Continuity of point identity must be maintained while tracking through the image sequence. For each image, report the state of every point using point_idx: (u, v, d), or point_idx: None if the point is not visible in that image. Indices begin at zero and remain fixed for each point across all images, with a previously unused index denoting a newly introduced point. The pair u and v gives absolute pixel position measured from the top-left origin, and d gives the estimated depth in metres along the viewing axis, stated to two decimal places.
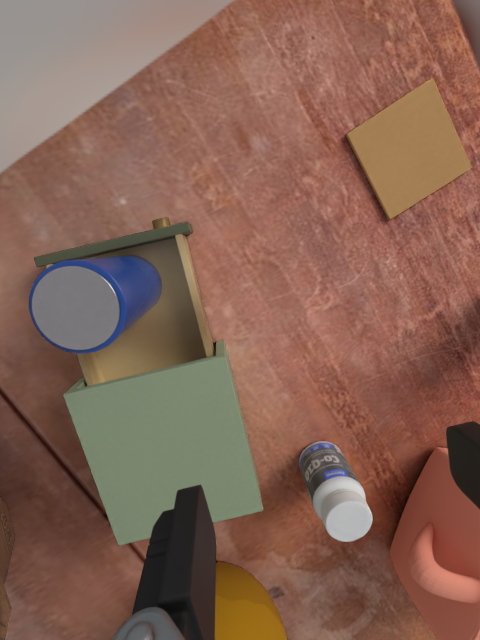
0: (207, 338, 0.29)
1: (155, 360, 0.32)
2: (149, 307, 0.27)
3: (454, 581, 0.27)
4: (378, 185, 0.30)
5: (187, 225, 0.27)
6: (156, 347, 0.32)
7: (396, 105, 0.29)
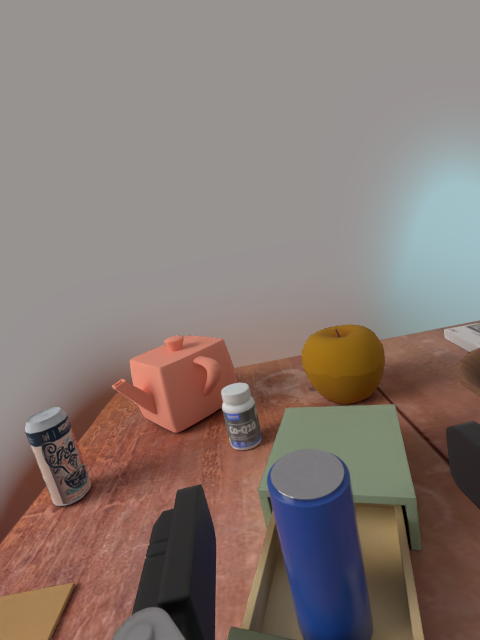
0: (271, 519, 0.31)
1: None
2: None
3: (202, 361, 0.54)
4: (53, 619, 0.29)
5: (229, 634, 0.22)
6: None
7: None
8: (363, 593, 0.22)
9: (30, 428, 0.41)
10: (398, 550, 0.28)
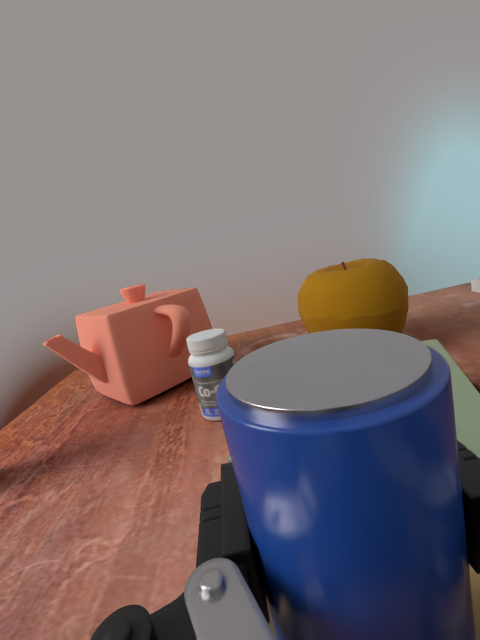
0: None
1: None
2: None
3: (166, 308, 0.40)
4: None
5: None
6: None
7: None
8: None
9: None
10: None
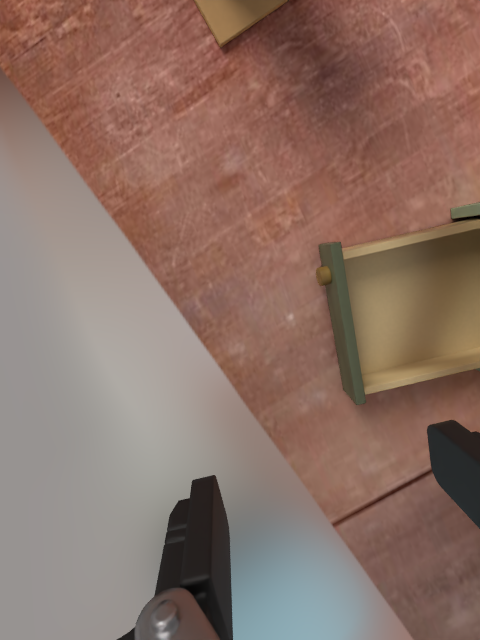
0: (464, 224, 0.24)
1: (467, 290, 0.28)
2: None
3: None
4: None
5: (334, 244, 0.24)
6: (453, 288, 0.28)
7: None
8: None
9: None
10: (458, 350, 0.29)
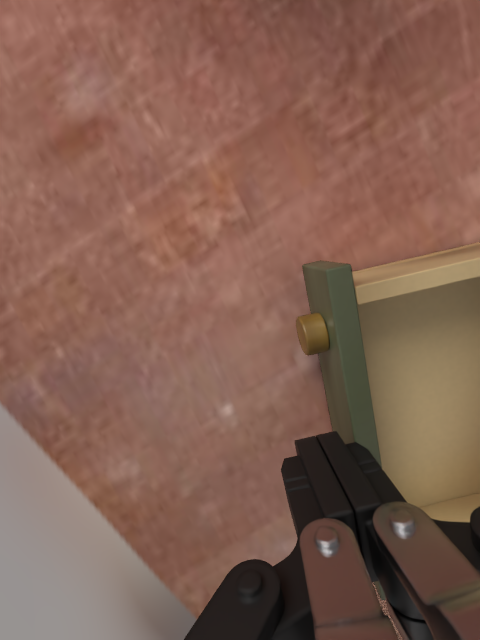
0: None
1: None
2: None
3: None
4: None
5: (335, 270, 0.10)
6: None
7: None
8: None
9: None
10: None
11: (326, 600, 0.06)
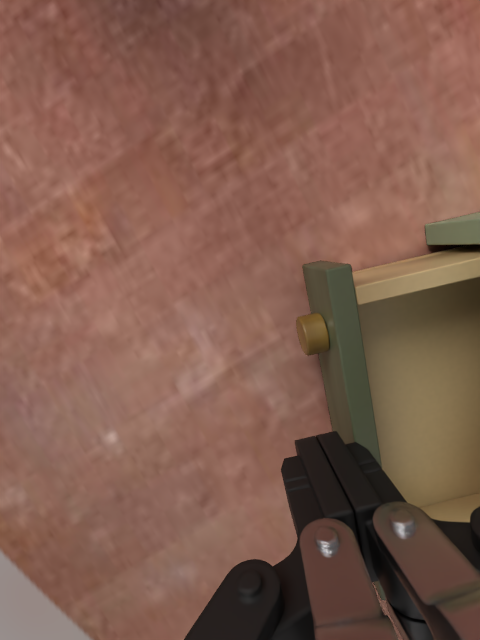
0: None
1: None
2: None
3: None
4: None
5: (335, 271, 0.10)
6: None
7: None
8: None
9: None
10: None
11: (326, 600, 0.06)
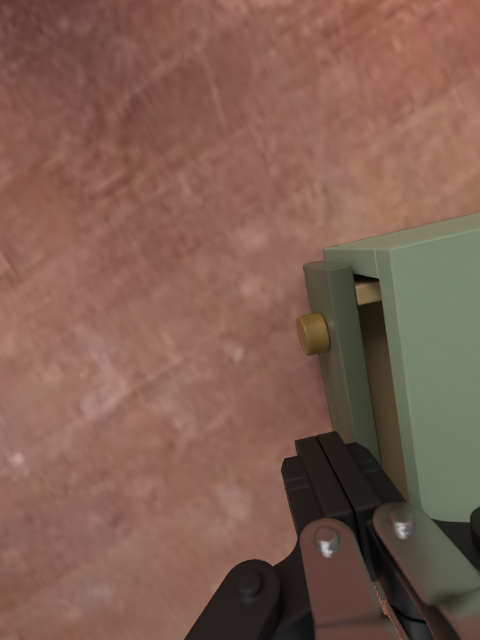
0: None
1: None
2: None
3: None
4: None
5: (335, 271, 0.10)
6: None
7: None
8: None
9: None
10: None
11: (326, 600, 0.06)
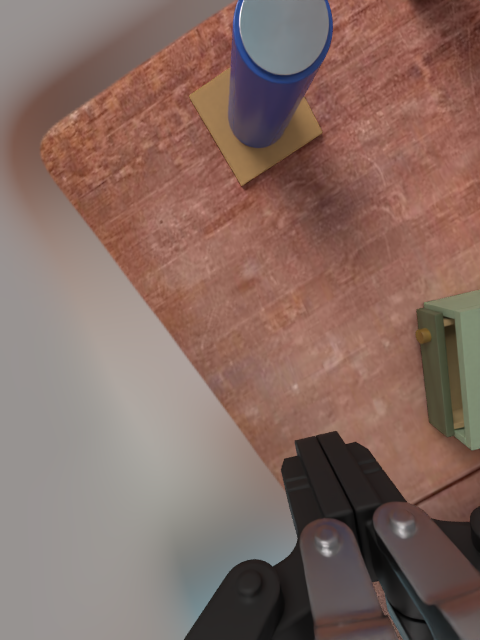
0: None
1: None
2: None
3: None
4: (289, 149, 0.30)
5: (437, 315, 0.31)
6: None
7: (215, 134, 0.29)
8: (270, 132, 0.26)
9: None
10: None
11: (326, 600, 0.06)
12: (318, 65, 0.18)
